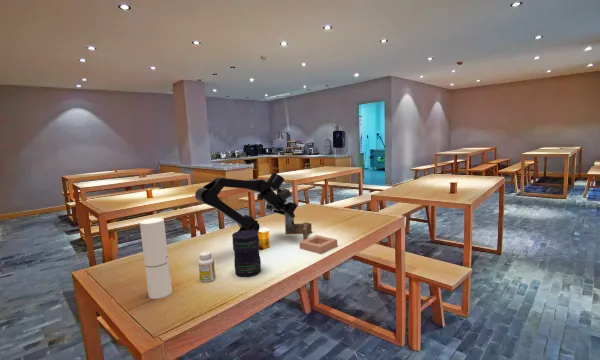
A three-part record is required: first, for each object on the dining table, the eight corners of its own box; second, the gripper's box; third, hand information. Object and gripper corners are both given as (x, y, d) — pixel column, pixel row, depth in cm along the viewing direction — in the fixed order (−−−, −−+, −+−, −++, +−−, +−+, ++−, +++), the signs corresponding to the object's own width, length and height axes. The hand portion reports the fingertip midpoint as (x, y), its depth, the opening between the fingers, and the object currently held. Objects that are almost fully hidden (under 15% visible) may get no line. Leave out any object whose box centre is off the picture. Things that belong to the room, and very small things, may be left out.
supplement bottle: (209, 274, 120) (207, 249, 118) (218, 277, 116) (216, 252, 115) (197, 279, 116) (194, 254, 114) (205, 283, 112) (203, 257, 111)
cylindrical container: (175, 287, 110) (167, 217, 107) (167, 298, 103) (158, 223, 100) (154, 289, 110) (145, 218, 107) (144, 299, 103) (135, 224, 100)
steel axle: (296, 229, 157) (294, 203, 155) (288, 231, 155) (286, 205, 153) (291, 227, 161) (290, 202, 159) (284, 229, 159) (282, 203, 157)
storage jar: (266, 271, 120) (263, 233, 118) (244, 280, 113) (240, 239, 111) (252, 264, 127) (249, 228, 125) (230, 272, 121) (226, 234, 119)
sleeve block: (320, 254, 135) (320, 247, 134) (299, 248, 143) (299, 242, 142) (337, 246, 143) (337, 239, 143) (316, 241, 151) (316, 235, 151)
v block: (304, 240, 154) (304, 230, 153) (284, 233, 166) (283, 224, 165) (319, 235, 160) (319, 225, 159) (299, 229, 172) (298, 220, 172)
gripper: (292, 185, 145) (312, 205, 153) (269, 182, 159) (288, 200, 168) (280, 205, 141) (300, 224, 149) (257, 200, 155) (277, 218, 164)
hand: (291, 216), depth 158 cm, fingers closed on steel axle, 4 cm apart
